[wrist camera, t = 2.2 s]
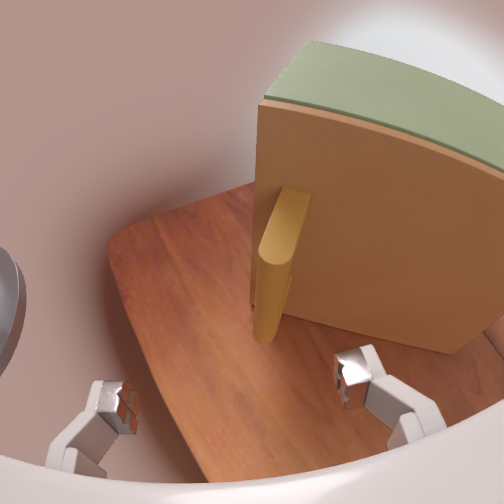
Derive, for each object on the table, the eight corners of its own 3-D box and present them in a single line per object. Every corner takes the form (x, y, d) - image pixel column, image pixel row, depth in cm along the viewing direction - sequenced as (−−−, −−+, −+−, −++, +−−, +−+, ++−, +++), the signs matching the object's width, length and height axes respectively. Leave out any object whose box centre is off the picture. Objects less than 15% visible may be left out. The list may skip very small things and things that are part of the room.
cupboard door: (448, 404, 28) (611, 299, 9) (230, 355, 32) (213, 165, 13) (451, 347, 32) (581, 218, 13) (252, 296, 36) (262, 98, 18)
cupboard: (451, 346, 32) (581, 214, 13) (252, 295, 37) (263, 94, 18) (445, 241, 43) (516, 112, 24) (289, 195, 47) (309, 39, 28)
